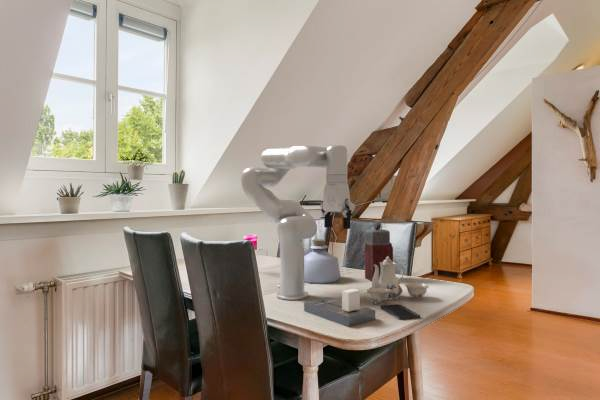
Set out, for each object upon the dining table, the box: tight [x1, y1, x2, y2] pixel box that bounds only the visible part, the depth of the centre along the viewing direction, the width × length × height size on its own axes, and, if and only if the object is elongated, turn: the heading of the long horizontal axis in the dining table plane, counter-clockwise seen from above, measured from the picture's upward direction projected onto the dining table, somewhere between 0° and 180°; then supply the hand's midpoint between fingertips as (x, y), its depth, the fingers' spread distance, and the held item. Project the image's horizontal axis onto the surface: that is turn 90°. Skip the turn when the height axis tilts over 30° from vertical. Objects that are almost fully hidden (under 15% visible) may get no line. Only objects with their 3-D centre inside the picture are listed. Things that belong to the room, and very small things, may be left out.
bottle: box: [304, 238, 341, 285], centre depth 196 cm, size 20×20×19 cm
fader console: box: [303, 296, 376, 328], centre depth 138 cm, size 22×12×3 cm, turn 37°
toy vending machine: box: [364, 219, 394, 282], centre depth 195 cm, size 9×11×28 cm
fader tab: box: [341, 288, 361, 312], centre depth 133 cm, size 3×5×6 cm, turn 127°
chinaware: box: [363, 256, 430, 306], centre depth 158 cm, size 28×17×17 cm, turn 120°
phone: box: [380, 303, 421, 321], centre depth 140 cm, size 8×1×15 cm
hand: (337, 228), depth 148 cm, fingers open, 9 cm apart
